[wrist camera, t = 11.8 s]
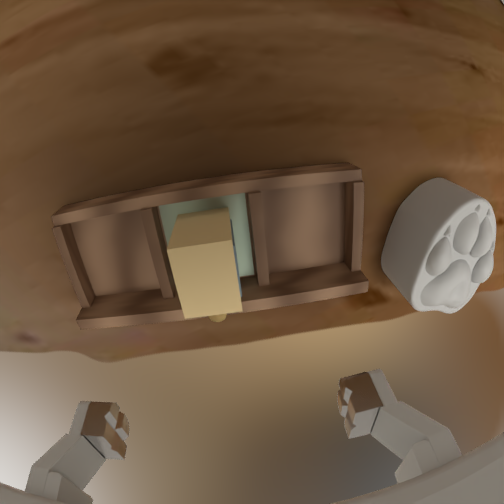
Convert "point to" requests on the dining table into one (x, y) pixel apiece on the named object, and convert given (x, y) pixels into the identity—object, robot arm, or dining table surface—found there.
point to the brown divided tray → (245, 235)
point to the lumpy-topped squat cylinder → (440, 246)
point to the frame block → (205, 263)
